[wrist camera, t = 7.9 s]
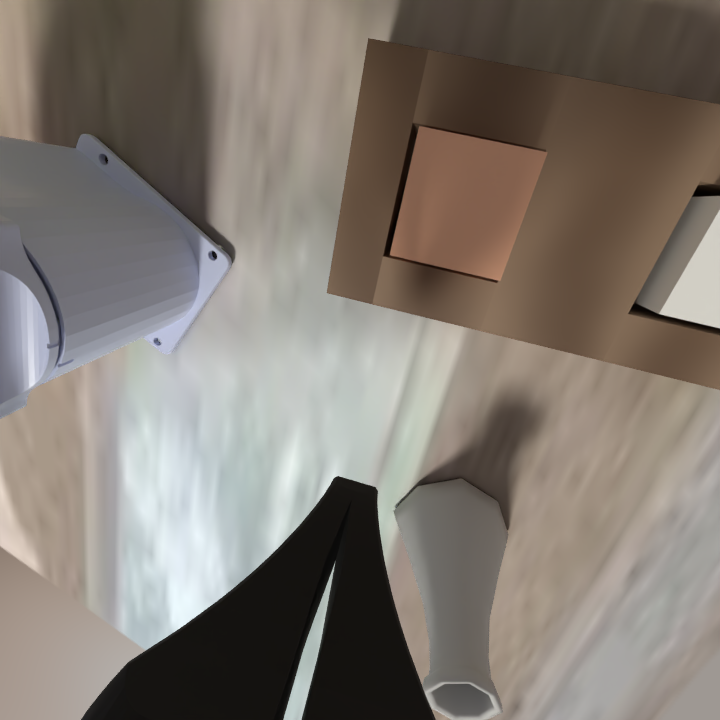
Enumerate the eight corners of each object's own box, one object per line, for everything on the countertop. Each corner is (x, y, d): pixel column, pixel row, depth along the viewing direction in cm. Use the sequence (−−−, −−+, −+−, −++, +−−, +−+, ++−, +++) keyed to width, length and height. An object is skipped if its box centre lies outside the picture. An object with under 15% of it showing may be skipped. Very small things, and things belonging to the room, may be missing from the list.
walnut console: (343, 278, 19) (326, 293, 16) (380, 72, 15) (368, 38, 12) (713, 368, 18) (775, 403, 15) (854, 165, 14) (979, 153, 11)
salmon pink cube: (399, 243, 17) (389, 255, 13) (421, 147, 15) (419, 125, 11) (482, 262, 17) (500, 281, 13) (515, 166, 15) (547, 152, 11)
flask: (375, 504, 25) (346, 672, 16) (465, 459, 22) (490, 631, 13) (436, 569, 27) (440, 756, 18) (527, 534, 24) (588, 735, 15)
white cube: (604, 288, 17) (659, 313, 13) (648, 198, 15) (727, 195, 11) (690, 308, 17) (774, 340, 13) (745, 218, 15) (862, 223, 11)
